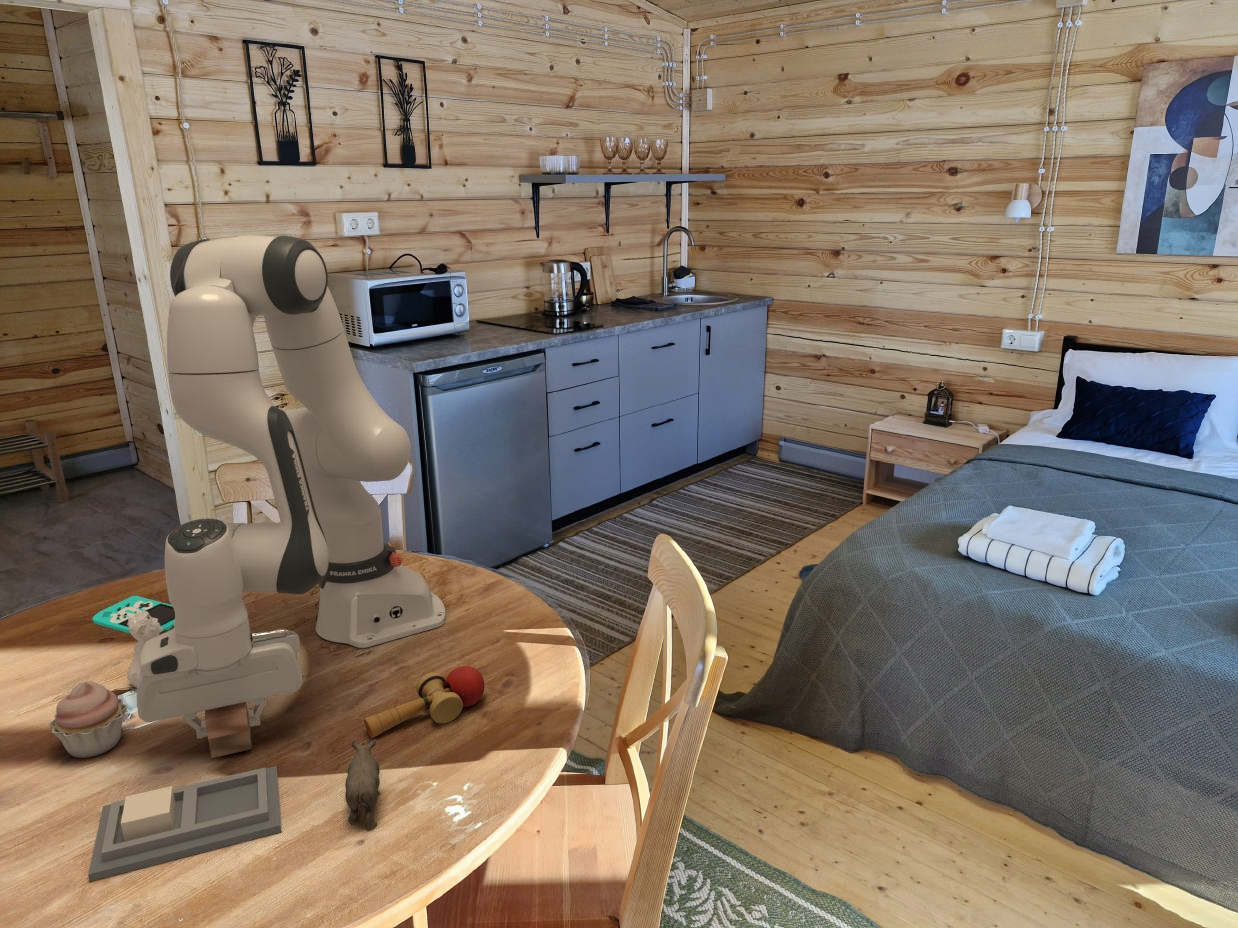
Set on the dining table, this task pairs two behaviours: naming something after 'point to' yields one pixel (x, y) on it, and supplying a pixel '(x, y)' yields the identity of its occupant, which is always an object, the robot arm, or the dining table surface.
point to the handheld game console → (121, 611)
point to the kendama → (433, 699)
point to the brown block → (228, 729)
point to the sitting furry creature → (141, 640)
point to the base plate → (185, 821)
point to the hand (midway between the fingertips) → (229, 729)
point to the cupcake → (89, 720)
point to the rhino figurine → (362, 784)
